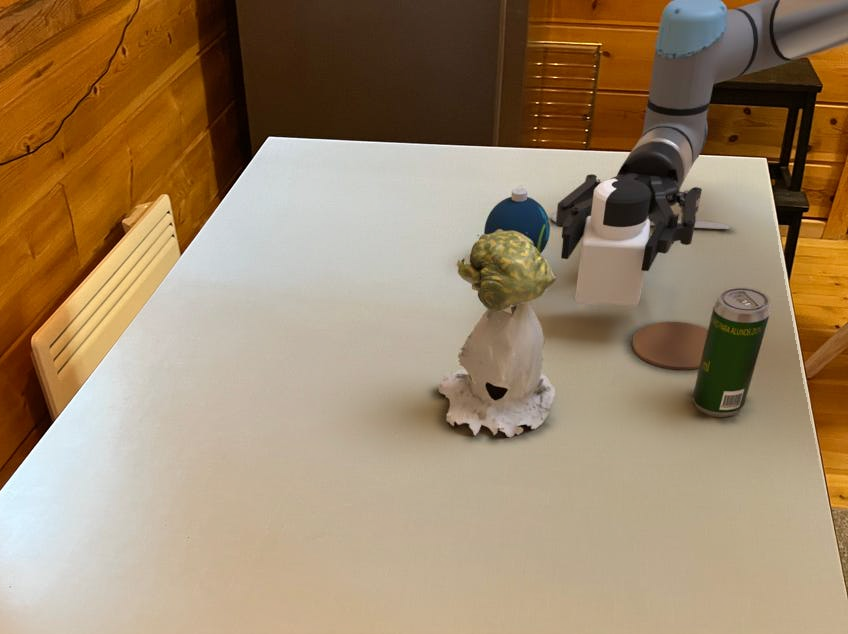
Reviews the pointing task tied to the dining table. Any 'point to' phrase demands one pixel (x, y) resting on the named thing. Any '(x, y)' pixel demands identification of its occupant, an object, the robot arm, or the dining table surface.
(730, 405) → the green drink can
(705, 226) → the butter knife
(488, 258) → the white and green statuette
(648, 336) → the coaster
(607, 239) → the medicine bottle
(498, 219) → the christmas ornament
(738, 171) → the dining table surface
